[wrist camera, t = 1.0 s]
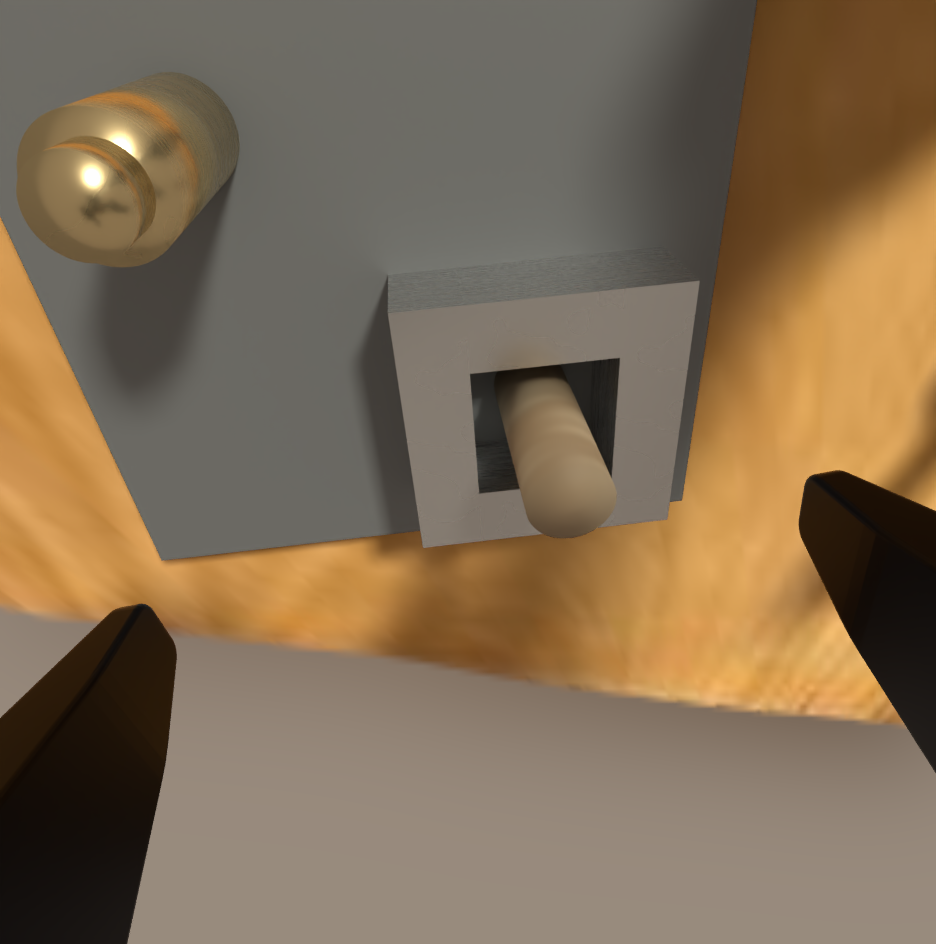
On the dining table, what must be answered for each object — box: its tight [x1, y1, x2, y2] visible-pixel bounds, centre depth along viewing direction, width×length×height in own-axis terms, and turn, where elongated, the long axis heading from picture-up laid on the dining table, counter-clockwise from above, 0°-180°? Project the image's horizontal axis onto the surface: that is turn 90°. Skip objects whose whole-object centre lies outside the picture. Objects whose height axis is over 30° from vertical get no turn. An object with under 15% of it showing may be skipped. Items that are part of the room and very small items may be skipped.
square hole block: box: [388, 246, 700, 548], centre depth 18 cm, size 7×7×2 cm
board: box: [0, 0, 757, 560], centre depth 17 cm, size 17×17×2 cm
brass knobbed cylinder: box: [16, 72, 240, 267], centre depth 12 cm, size 2×2×6 cm
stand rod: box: [494, 364, 617, 538], centre depth 17 cm, size 2×2×6 cm
